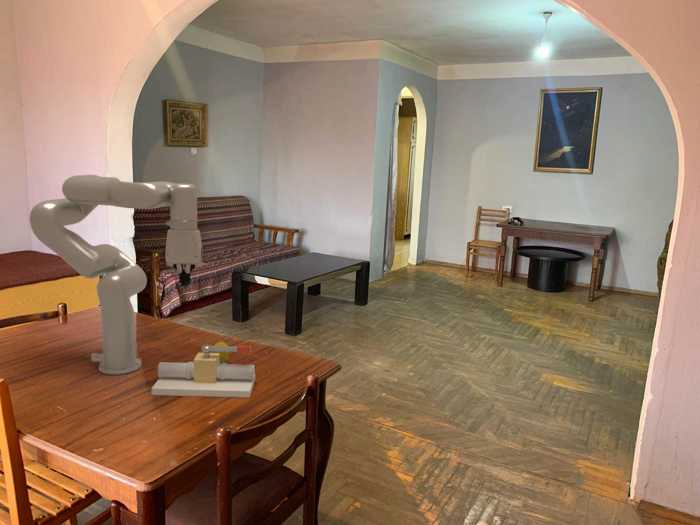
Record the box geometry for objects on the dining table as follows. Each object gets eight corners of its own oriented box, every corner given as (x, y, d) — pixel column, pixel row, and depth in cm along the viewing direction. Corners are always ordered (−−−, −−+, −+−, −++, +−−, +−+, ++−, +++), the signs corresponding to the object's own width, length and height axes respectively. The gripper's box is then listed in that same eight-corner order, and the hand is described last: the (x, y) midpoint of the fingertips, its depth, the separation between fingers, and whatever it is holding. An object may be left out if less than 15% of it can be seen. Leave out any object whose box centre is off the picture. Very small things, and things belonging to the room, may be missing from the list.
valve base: (151, 395, 154) (150, 360, 152) (164, 377, 166) (163, 345, 164) (249, 397, 156) (249, 363, 153) (255, 380, 167) (255, 348, 165)
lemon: (225, 368, 175) (224, 345, 174) (209, 366, 176) (209, 343, 175) (232, 362, 181) (232, 339, 179) (216, 360, 182) (216, 337, 180)
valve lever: (200, 353, 159) (200, 347, 159) (202, 349, 162) (202, 343, 162) (250, 354, 160) (250, 348, 160) (251, 350, 163) (251, 344, 163)
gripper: (154, 226, 156) (156, 287, 159) (206, 228, 156) (207, 289, 160) (162, 222, 163) (163, 281, 167) (212, 224, 164) (212, 283, 167)
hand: (185, 285), depth 163 cm, fingers closed
